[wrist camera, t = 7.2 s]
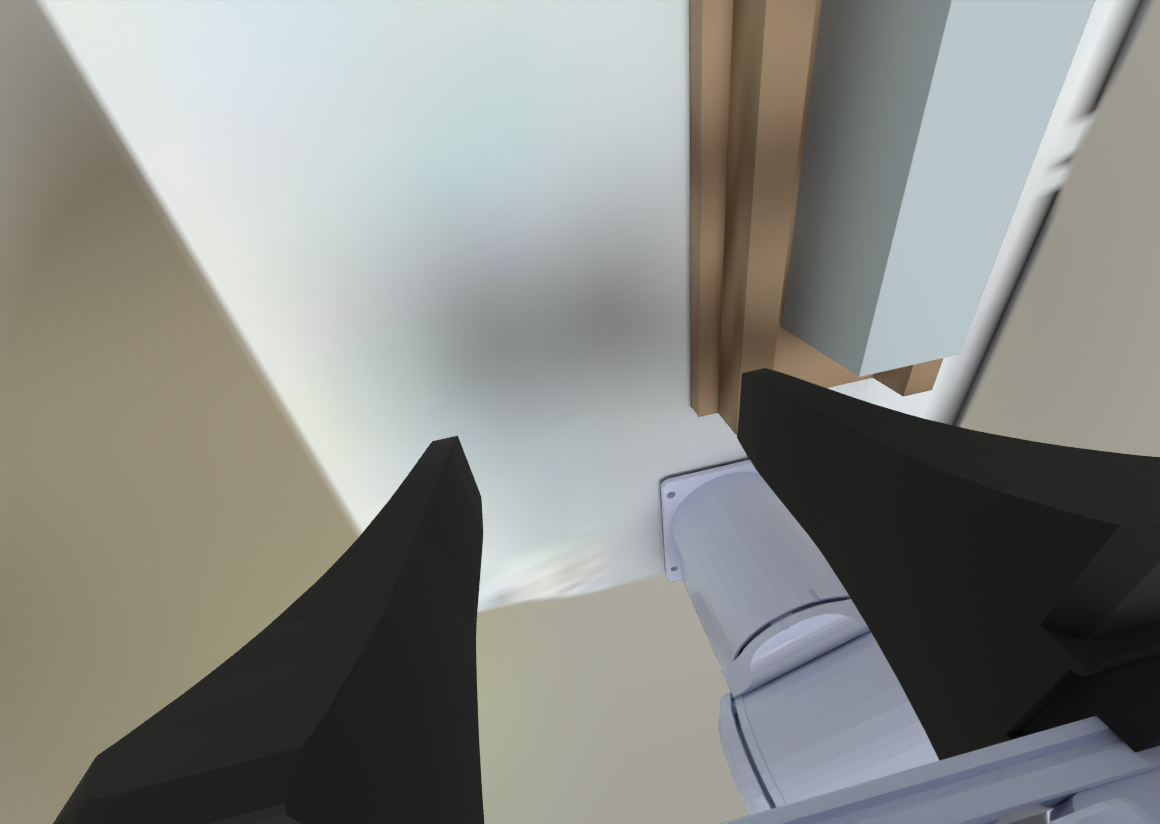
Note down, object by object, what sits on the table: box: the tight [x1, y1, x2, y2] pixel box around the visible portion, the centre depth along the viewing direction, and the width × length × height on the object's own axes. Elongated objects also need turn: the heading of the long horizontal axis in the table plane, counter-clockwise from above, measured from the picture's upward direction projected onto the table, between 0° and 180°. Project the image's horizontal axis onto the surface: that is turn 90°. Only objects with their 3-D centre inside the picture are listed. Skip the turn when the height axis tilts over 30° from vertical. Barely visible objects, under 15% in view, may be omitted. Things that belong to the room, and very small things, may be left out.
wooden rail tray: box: [690, 0, 943, 435], centre depth 16 cm, size 21×12×3 cm, turn 9°
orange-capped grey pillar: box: [782, 0, 1095, 377], centre depth 14 cm, size 14×4×5 cm, turn 9°
